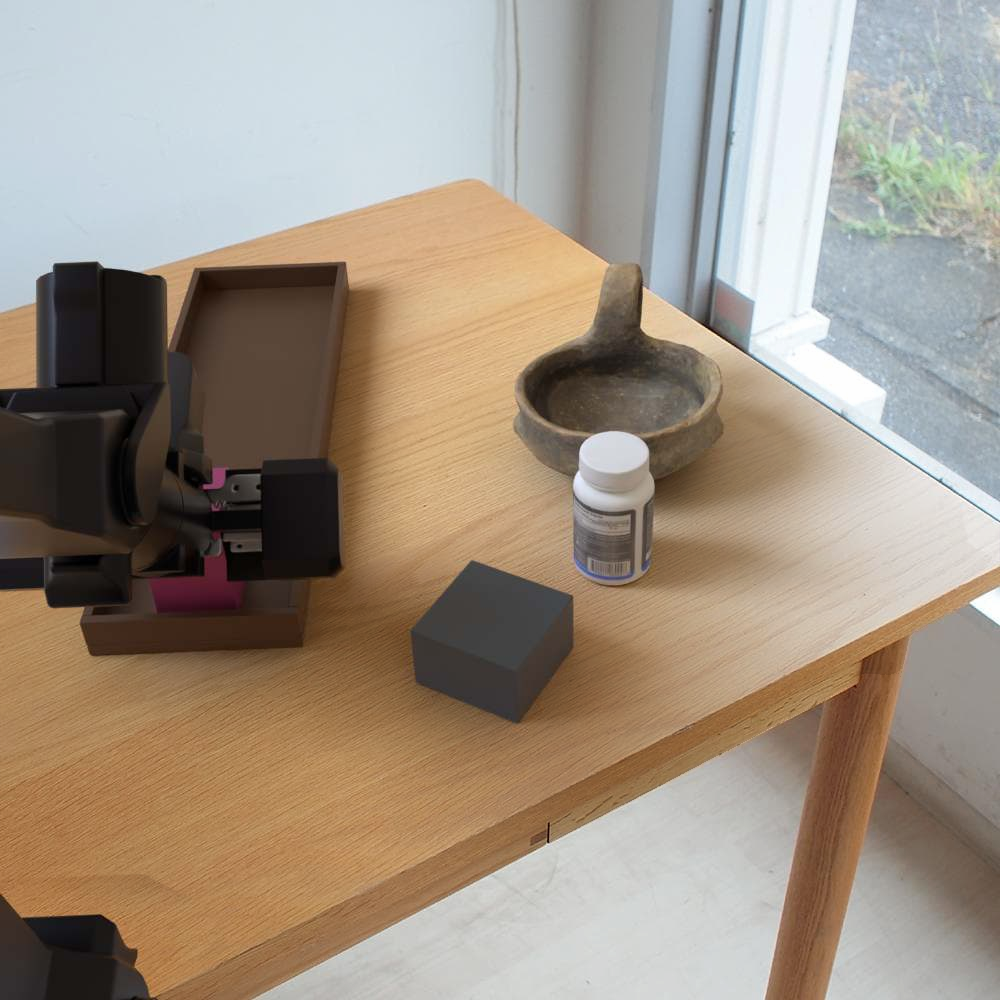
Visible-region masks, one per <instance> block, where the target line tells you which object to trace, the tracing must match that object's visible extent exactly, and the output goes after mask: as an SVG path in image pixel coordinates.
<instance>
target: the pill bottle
mask: <svg viewBox="0 0 1000 1000" xmlns="http://www.w3.org/2000/svg"><path fill="white" fill-rule="evenodd" d="M655 490H656V489H655V480H653V477H652V475H651V473H650V472H649V449H648V447H647V445H646V444H645V442H644V441H643V440H641V439H640V438H638V437H637V436H635V435H632V434H629V433H626V432H619V431H609V432H603V433H598V434H596V435H593V436H591V437H590V438H588V439H587V440H586V441H585V442H584V443H583V444H582V446H581V448H580V453H579V471H578V472H577V474H576V476H575V478H574V477H573V482H572V500H573V504H572V506H573V512H572V513H573V515H572V517H573V520H572V521H573V522H572V525H573V530H572V532H573V533H572V534H573V562H574V566H575V568H576V570H577V571H578V572H579V573H580V574H581V575H582V576H583V577H585V578H586V579H587V580H589V581H591V582H593V583H596V584H598V585H604V586H621V585H626V584H630V583H632V582H635V581H636V580H639V579H640V578H641V577H643V576H644V575H645V574H646V573H647V572H648V571H649V569H650V567H651V564H652V556H653V555H652V554H653V532H654V516H655V515H654V513H655V511H654V510H655V509H654V508H655Z"/></svg>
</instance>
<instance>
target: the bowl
mask: <svg viewBox="0 0 1000 1000" xmlns="http://www.w3.org/2000/svg"><path fill="white" fill-rule="evenodd" d="M602 279H603V280H602V284H601V287H600V291H599V296H598V297H599V298H598V303H597V308H596V311H595V315H594V318H593V322H592V324H591V326H590V327H589V329H588V331H587V332H586V333H584V334H583V335H582V336H579V337H576V338H574V339H573V338H572V339H571V340H568V341H566V342H564V343H562V344H560V345H558V346H556V347H555V348H553V349H551V350H549V351H547V352H545V353H543V354H541V355H539V356H538V357H536V358H534V359H533V360H532V361H531V362H529V363H528V364H527V365H526V366H525V367H524V368H523V369H522V370H521V372H519V374H518V375H517V377H516V379H515V382H514V383H515V384H514V398H515V402H516V404H517V406H518V409H519V410H518V412H517V414H516V416H515V418H514V419H513V423H512V428H513V431H514V433H515V434H516V435H517V436H518V437H519V439H520V440H521V442H522V443H523V444H524V446H525V447H526V448H527V450H528V451H529V452H530V453H531V454H532V455H533V456H534V458H536V459H537V460H538V461H539V462H540V463H541V464H542V465H544V466H546V467H547V468H550V469H551V470H554V471H555V472H558V473H560V474H562V475H565V476H568V477H571V478H573V479H574V478H575V476H576V474H577V472H578V471H579V453H580V448H581V446H582V444H583V443H584V442H585V441H586V440H587V439H588V438H590V437H591V436H593V435H596V434H598V433H603V432H609V431H619V432H626V433H629V434H632V435H635V436H637V437H638V438H640V439H641V440H643V441H644V442H645V444H646V445H647V447H648V449H649V472H650V473H651V475H652V477H653V480H654V481H655V480H659V479H661V478H663V477H666V476H669V475H670V474H673V473H676V472H677V471H679V470H681V469H683V468H685V467H687V466H688V465H691V464H692V463H693V462H695V461H697V460H698V459H699V458H701V457H702V456H703V455H705V454H706V453H707V452H708V451H709V450H710V449H712V447H713V446H714V445H715V444H716V443H718V441H719V440H720V438H721V437H722V436H723V434H724V431H725V425H724V423H723V421H722V420H721V417H720V415H719V414H718V409H717V408H718V406H719V403H720V401H721V399H722V395H723V393H724V384H723V376H722V371H721V369H720V366H719V365H718V364H717V363H716V362H715V361H714V359H712V358H710V357H709V356H707V355H706V354H704V353H702V352H700V351H699V350H698V349H696V348H694V347H692V346H688V345H686V344H682V343H677V342H673V341H670V340H666V339H660V338H655V337H652V336H651V335H648V334H646V332H644V331H643V329H642V327H641V323H642V314H643V301H644V300H643V299H644V276H643V271H642V268H641V266H640V265H639V264H637V263H635V262H634V263H632V262H616V263H614V262H613V263H610V264H609V265H608V267H607V268H606V269H605V272H604V276H603V278H602Z"/></svg>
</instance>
